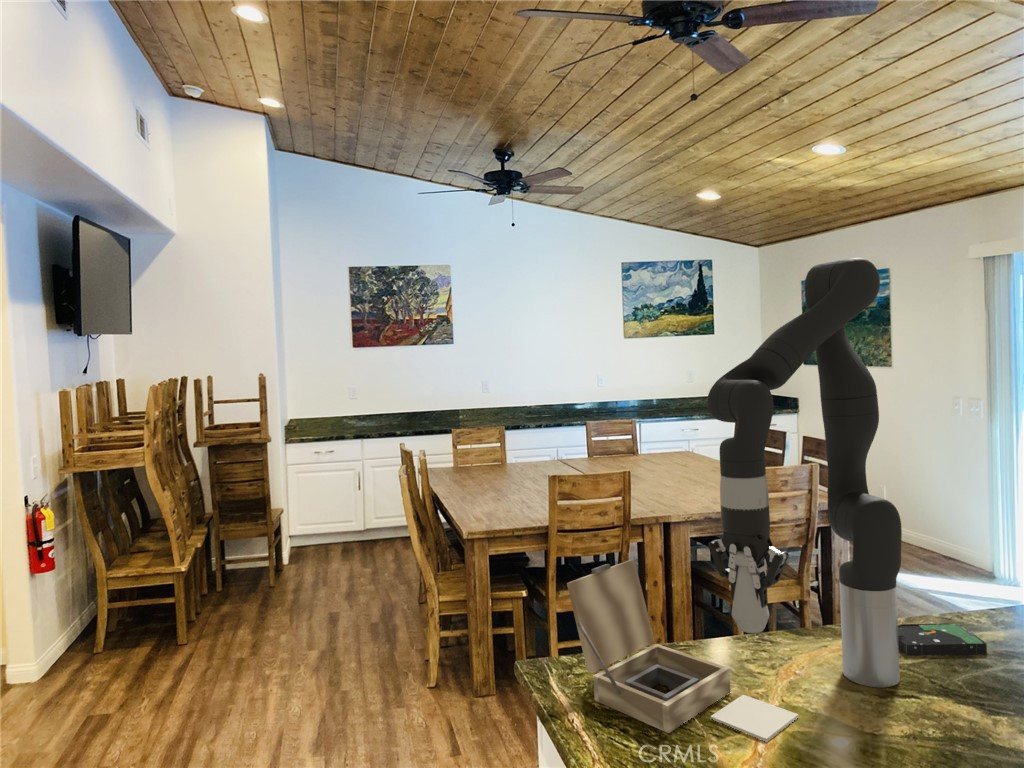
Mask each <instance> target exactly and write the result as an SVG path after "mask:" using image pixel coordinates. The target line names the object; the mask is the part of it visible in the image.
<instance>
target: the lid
mask: <svg viewBox="0 0 1024 768" xmlns="http://www.w3.org/2000/svg"><path fill="white" fill-rule="evenodd" d="M640 581H641V580H640V577H639V573H638V568H637V565H636V562H635V559H634V558H633V559H629V560H625V561H624V562H621V563H617V564H615V565H612V566H611V563H605V564H602V565H599V566H597V567H594V568H591V573H590V574H588V575H585V576H582V577H579V578H577V579H574V580H572V581H569V582H567V583H566V586H567V590H568V595H569V600H570V603H571V607H572V608H571V609H572V610H573V616H574V619H575V624H576V628H577V632H578V637H579V641H580V645H581V649H582V654H583V658H584V663H585V666H586V671H587V674H593V673H596V672H598V671H599V670H602V669H603V667H602V666H601V664H600V662H599V661H598V659H597V657H596V655H595V654H594V652H593V650H592V649H591V647H590V645H589V643H588V642H587V640H586V638H585V637H584V635H583V633H582V632H581V630H580V628H579V626H578V625H577V624H578V622H580V623H581V625H582V627H583V628H584V630H585V632H586V633H587V635H588V637H589V638H590V640H591V642H592V644H593V645H594V647H595V649H596V650H597V652H598V654H599V655H600V657H601V659H602V660H603V662H604V664H605V666H606V667H608V666H609V665H612V664H614V663H616V662H617V661H620V660H621V659H623V658H625V657H627V656H629V655H632V654H633V653H635V652H637V651H638V652H639V650H641V649H643V648H645V647H648V646H651V644H654V643H655V642H656V641H655V637H654V636H655V635H654V632H653V628H652V624H651V621H650V618H649V613H648V610H647V609H648V608H647V605H646V601H645V596H644V592H643V589H642V585H641V582H640Z"/></svg>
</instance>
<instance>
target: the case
mask: <svg viewBox="0 0 1024 768" xmlns="http://www.w3.org/2000/svg"><path fill="white" fill-rule="evenodd" d="M577 625H578V626H579V628H580V630H581V632H582V633H583V635H584V637H585V638H586V640H587V642H588V643H589V645H590V647H591V649H592V650H593V652H594V654H595V655H596V657H597V659H598V661H599V662H600V664H601V666H602V667H603V668H602V669H603V670H601V671H599V672H598V673H596V674H593V679H592V680H593V692H594V693H593V694H594V695H593V696H594V701H595V702H598V703H599V704H602V705H604V706H607V707H609V708H611V709H613V710H615V711H618V712H620V713H622V714H624V715H627V716H629V717H631V718H633V719H635V720H638V721H640V722H641V723H644V724H647V725H649V726H652V727H653V728H656V729H658V730H660V731H663V732H665V733H667V734H670V733H671V732H673V731H675V730H677V729H678V728H680V727H681V726H682V725H684V724H686V723H687V722H688V720H689V721H691V720H692V719H693V718H695V717H696V716H698V715H699V714H701V713H703V712H704V711H705V710H704V709H706V708H707V707H708V706H709V705H711V704H713V703H714V702H716V701H717V700H719V699H721V698H722V697H724V696H725V695H727V694H728V693H730V692H731V691H732V690H731V672H730V667H726V666H725V665H724V666H723V665H720V664H718V663H715V662H712V661H708V660H706V659H703V658H700V657H696V656H695V655H691V654H688V653H685V652H682V651H680V650H677V649H673V648H670V647H667V646H664V645H661V644H658V643H655V644H653V645H652V646H651V645H650V646H649V647H647V648H645V649H643V650H641V651H640V652H639V651H638V652H637V653H636V654H633V655H631V656H629V657H627V658H626V659H623V660H621V661H619V662H617V663H615V664H613V665H611V666H609V667H608V666H605V664H604V662H603V660H602V659H601V657H600V655H599V654H598V652H597V650H596V649H595V647H594V645H593V644H592V642H591V640H590V638H589V637H588V635H587V633H586V632H585V630H584V628H583V627H582V625H581V623H580V622H578V624H577ZM577 625H576V626H577ZM659 683H660V684H659ZM658 684H659V685H662V684H663V685H662V686H664V685H666V686H665V687H667V686H668V688H670V687H671V688H670V689H672V688H673V689H672V690H670V691H668V692H667V693H664V692H662V691H660V690H657V689H653V687H655V686H656V685H658ZM731 693H732V692H731ZM731 693H730V694H731ZM727 696H728V695H727ZM724 698H725V697H724ZM722 699H723V698H722ZM722 699H721V700H722ZM719 701H720V700H719ZM716 703H717V702H716ZM713 705H714V704H713ZM707 709H708V708H707ZM707 709H706V710H707ZM703 710H704V711H703ZM700 712H701V713H700ZM698 713H699V714H698ZM697 714H698V715H697ZM694 716H695V717H694ZM691 718H692V719H691ZM685 722H686V723H685ZM683 723H684V724H683ZM680 725H681V726H680Z"/></svg>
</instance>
